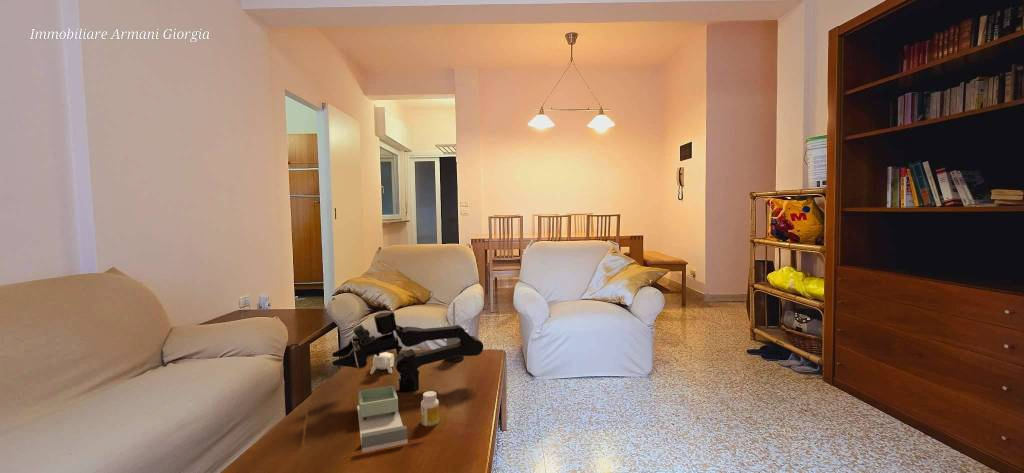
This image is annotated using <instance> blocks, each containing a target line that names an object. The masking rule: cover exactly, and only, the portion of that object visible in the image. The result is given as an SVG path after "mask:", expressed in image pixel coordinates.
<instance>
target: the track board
mask: <svg viewBox="0 0 1024 473" xmlns="http://www.w3.org/2000/svg"><path fill="white" fill-rule="evenodd" d="M356 410H357V415H358V416H357V417H358V427H359V436H360V444H361V453H362V454H363V453H368V452H372V451H377V450H381V449H387V448H391V447H396V446H402V445H406V444H408V428H407V425H403V422H402V419H401V416H400V412H399V410H398V411H395V414H394V415H392V414H391V412H390V413H384V414H378V415H373V416H367V419H366V420H363V417H361V416H360V408H359V404H358V405H357V406H356Z"/></svg>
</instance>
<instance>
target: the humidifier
mask: <svg viewBox="0 0 1024 473" xmlns="http://www.w3.org/2000/svg"><path fill="white" fill-rule="evenodd" d="M449 314H450V317H453V318H452V324H450V326H455V325H456V302H452V313H449ZM451 314H452V315H451ZM445 340H446V342H445V343H446V345H445V346H449V345H453V344H456V343H458V342H459V341H461V340H460V339H459V338H449V339H445ZM464 359H465V356H456V357H452V358H448V359H444V360H445V362H447V363H459V362H462V361H463V360H464Z"/></svg>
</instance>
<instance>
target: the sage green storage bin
mask: <svg viewBox="0 0 1024 473" xmlns="http://www.w3.org/2000/svg"><path fill="white" fill-rule="evenodd" d="M358 405H359V408H360V416H361V417H363V420H366V419H367V416H373V415H378V414H384V413H390V412H391V414H392V415H394V414H395V411H398V412H399V398H398V394H397V391H396V389H395V385H394V384H392V385H391V384H390V385H387V386H386V385H385V386H379V387H372V388H366V389H360V390H358Z"/></svg>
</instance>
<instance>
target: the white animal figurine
mask: <svg viewBox="0 0 1024 473" xmlns="http://www.w3.org/2000/svg"><path fill="white" fill-rule="evenodd" d="M394 359H395V355H394V353H391V352H388V351H387V352H384V353H380V356H376V355H374V356H373V360H372V368H371V370H370V372H369V374H370V375H373V374H375V371H376V370H381V371H385V370H387V372H388V373H389V374H392V373H393V369H392V367H393V366H395V365H394Z"/></svg>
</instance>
